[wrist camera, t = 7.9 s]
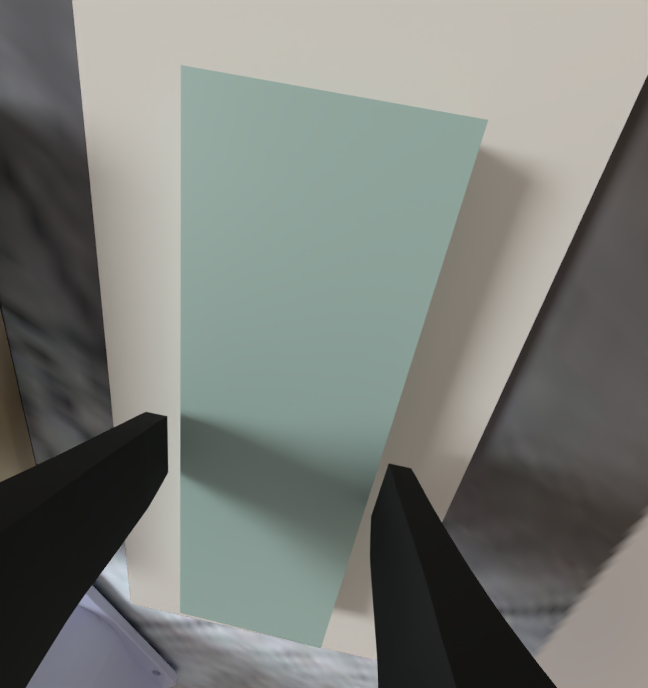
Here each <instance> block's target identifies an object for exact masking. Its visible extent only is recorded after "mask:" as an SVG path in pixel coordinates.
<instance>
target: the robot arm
mask: <svg viewBox="0 0 648 688" xmlns="http://www.w3.org/2000/svg"><path fill="white" fill-rule="evenodd" d="M167 474H168V423H167V416H164V415H159V414H154V413H150V412H144V413H142V414H140V415H138V416H136V417H134V418H132V419H130V420H128V421H126V422H124V423H122V424H120V425H118V426H116V427H114V428H112V429H110V430H108V431H106V432H104V433H102V434H100V435H98V436H96V437H94V438H92V439H90V440H88V441H86V442H84V443H82V444H80V445H78V446H76V447H74V448H72V449H70V450H68V451H66V452H64V453H62V454H60V455H58V456H56V457H53V458H51V459H49V460H47V461H45V462H43V463H40V464H38V465H36V466H34V467H32V468H29V469H27V470H25V471H23V472H21V473H19V474H16V475H14V476H12V477H10V478H8V479H6V480H3V481H1V482H0V688H169V687H173V686H175V684H176V682H177V679H178V674H177V673H176V671H175V670H174V669H173V668H172V667H171V666H170V665H169V664H168V663H167V662H166V661H165V660H164V659H163V658H162V657H161V656H160V655H159V654H158V653H157V652H156V651H155V650H154V649H153V648H152V647H151V645H150V644H149V643H148V642H147V641H146V640H145V639H144V638H143V637H142V636H141V635H140V634H139V633H138V632H137V631H136V630H135V629H134V628H133V627H132V626H131V625H130V624H129V623H128V622H127V621H126V619H125V618H124V617H123V616H122V615H121V614H120V613H119V612H118V611H117V610H116V609H115V608H114V607H113V606H112V605H111V604H110V603H109V602H108V601H107V600H106V599H105V598H104V597H103V596H102V595H101V594H100V592H99V591H98V590H97V589H96V588H95V587H94V586H93V583H94V582H95V580H96V579H97V578H98V576H99V575H100V574H101V572H102V571H103V570H104V568H105V567H106V565H107V564H108V563H109V561H110V560H111V559H112V557H113V556H114V555H115V553H116V552H117V550H118V549H119V548H120V546H121V545H122V544H123V542H124V541H125V540H126V538H127V537H128V535H129V534H130V533H131V531H132V530H133V528H134V527H135V526H136V524H137V523H138V522H139V520H140V519H141V517H142V516H143V515H144V513H145V512H146V510H147V509H148V507H149V506H150V504H151V502H152V501H153V499H154V497H155V495H156V494H157V492H158V490H159V488H160V487H161V485H162V483H163V481H164V479H165V478H166V476H167ZM370 569H371V583H372V597H373V610H374V624H375V637H376V651H377V664H378V688H557V687H556V686H555V685H554V683H553V682H552V681H551V680H550V678H549V677H548V676H547V674H546V673H545V672H544V671H543V669H542V668H541V667H540V666H539V664H538V663H537V662H536V660H535V659H534V658H533V657H532V655H531V654H530V653H529V651H528V650H527V649H526V647H525V646H524V645H523V643H522V642H521V641H520V639H519V638H518V637H517V635H516V634H515V633H514V631H513V630H512V629H511V627H510V626H509V625H508V623H507V622H506V620H505V619H504V618H503V616H502V615H501V613H500V612H499V611H498V609H497V608H496V606H495V605H494V603H493V602H492V601H491V599H490V598H489V596H488V595H487V593H486V592H485V590H484V589H483V587H482V586H481V584H480V583H479V581H478V580H477V578H476V577H475V575H474V574H473V572H472V571H471V569H470V568H469V566H468V564H467V563H466V561H465V560H464V558H463V557H462V555H461V553H460V552H459V550H458V549H457V547H456V545H455V544H454V542H453V540H452V539H451V537H450V535H449V534H448V532H447V530H446V529H445V527H444V525H443V524H442V522H441V520H440V519H439V517H438V515H437V513H436V512H435V510H434V508H433V506H432V505H431V503H430V501H429V499H428V497H427V496H426V494H425V492H424V490H423V488H422V487H421V485H420V483H419V481H418V479H417V477H416V476H415V474H414V472H413V471H412V469H411V468H408V467H403V466H398V465H394V464H388V467H387V470H386V473H385V476H384V479H383V482H382V485H381V488H380V491H379V494H378V497H377V500H376V503H375V506H374V509H373V512H372V515H371V530H370Z"/></svg>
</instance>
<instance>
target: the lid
mask: <svg viewBox="0 0 648 688" xmlns="http://www.w3.org/2000/svg"><path fill="white" fill-rule="evenodd" d="M487 122H488V120H486V119H480V118H475V117H469V116H464V115H458V114H452V113H447V112H441V111H436V110H430V109H424V108H419V107H413V106H408V105H402V104H396V103H391V102H385V101H380V100H374V99H368V98H363V97H357V96H352V95H346V94H340V93H335V92H329V91H324V90H318V89H312V88H307V87H301V86H296V85H290V84H284V83H279V82H273V81H268V80H262V79H256V78H251V77H245V76H240V75H234V74H228V73H223V72H217V71H212V70H206V69H200V68H195V67H189V66H184V65H181V337H180V613H183V614H187V615H191V616H195V617H199V618H203V619H207V620H211V621H215V622H219V623H223V624H227V625H231V626H235V627H239V628H243V629H247V630H251V631H255V632H259V633H263V634H267V635H271V636H275V637H279V638H283V639H287V640H291V641H295V642H299V643H303V644H307V645H311V646H315V647H319V648H321V646H322V643H323V640H324V637H325V634H326V630H327V627H328V624H329V621H330V618H331V615H332V611H333V608H334V605H335V602H336V599H337V596H338V593H339V589H340V586H341V583H342V580H343V577H344V574H345V570H346V567H347V564H348V561H349V558H350V555H351V552H352V548H353V545H354V542H355V539H356V536H357V533H358V529H359V526H360V523H361V520H362V517H363V514H364V510H365V507H366V504H367V501H368V498H369V495H370V492H371V488H372V485H373V482H374V479H375V476H376V473H377V469H378V466H379V463H380V460H381V457H382V454H383V451H384V447H385V444H386V441H387V438H388V435H389V432H390V428H391V425H392V422H393V419H394V416H395V413H396V410H397V406H398V403H399V400H400V397H401V394H402V391H403V387H404V384H405V381H406V378H407V375H408V372H409V369H410V365H411V362H412V359H413V356H414V353H415V350H416V346H417V343H418V340H419V337H420V334H421V331H422V328H423V324H424V321H425V318H426V315H427V312H428V309H429V305H430V302H431V299H432V296H433V293H434V290H435V287H436V283H437V280H438V277H439V274H440V271H441V268H442V264H443V261H444V258H445V255H446V252H447V249H448V246H449V242H450V239H451V236H452V233H453V230H454V227H455V223H456V220H457V217H458V214H459V211H460V208H461V204H462V201H463V198H464V195H465V192H466V189H467V186H468V182H469V179H470V176H471V173H472V170H473V167H474V163H475V160H476V157H477V154H478V151H479V148H480V145H481V141H482V138H483V135H484V132H485V129H486V126H487Z"/></svg>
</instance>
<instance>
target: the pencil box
mask: <svg viewBox="0 0 648 688" xmlns="http://www.w3.org/2000/svg"><path fill="white" fill-rule="evenodd" d="M34 466H36V464H35V460H34V455H33V451H32V447H31V442H30V438H29V433H28V429H27V424H26V420H25V416H24V411H23V407H22V402H21V398H20V394H19V389H18V385H17V380H16V376H15V371H14V367H13V363H12V358H11V354H10V349H9V345H8V340H7V336H6V332H5V327H4V323H3V318H2V314H1V310H0V482H1V481H3V480H6V479H8V478H10V477H12V476H14V475H16V474H19V473H21V472H23V471H25V470H27V469H29V468H32V467H34Z"/></svg>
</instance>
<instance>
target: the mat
mask: <svg viewBox="0 0 648 688" xmlns="http://www.w3.org/2000/svg"><path fill="white" fill-rule="evenodd" d="M72 2H73V12H74V23H75V33H76V43H77V54H78V64H79V74H80V85H81V95H82V105H83V115H84V126H85V136H86V146H87V157H88V167H89V177H90V188H91V198H92V208H93V219H94V229H95V239H96V250H97V260H98V270H99V281H100V291H101V301H102V312H103V322H104V332H105V343H106V353H107V363H108V374H109V384H110V394H111V405H112V415H113V425H114V427H116V426H118V425H120V424H122V423H124V422H126V421H128V420H130V419H132V418H134V417H136V416H138V415H140V414H142V413H144V412H150V413H154V414H159V415H164V416H167V423H168V474H167V476H166V478H165V479H164V481H163V483H162V485H161V487H160V488H159V490H158V492H157V494H156V495H155V497H154V499H153V501H152V502H151V504H150V506H149V507H148V509H147V510H146V512H145V513H144V515H143V516H142V517H141V519H140V520H139V522H138V523H137V524H136V526H135V527H134V528H133V530H132V531H131V533H130V534H129V535H128V537H127V538H126V540H125V549H126V559H127V570H128V580H129V590H130V601H131V604H134V605H138V606H143V607H147V608H151V609H156V610H160V611H165V612H169V613H173V614H178V615H182V616H186V617H191V618H195V619H199V620H204V621H208V622H213V623H217V624H221V625H226V626H230V627H234V628H239V627H235V626H231V625H227V624H223V623H219V622H215V621H211V620H207V619H203V618H199V617H195V616H191V615H187V614H183V613H180V337H181V65H184V66H189V67H195V68H200V69H206V70H212V71H217V72H223V73H228V74H234V75H240V76H245V77H251V78H256V79H262V80H268V81H273V82H279V83H284V84H290V85H296V86H301V87H307V88H312V89H318V90H324V91H329V92H335V93H340V94H346V95H352V96H357V97H363V98H368V99H374V100H380V101H385V102H391V103H396V104H402V105H408V106H413V107H419V108H424V109H430V110H436V111H441V112H447V113H452V114H458V115H464V116H469V117H475V118H480V119H486V120H488V122H487V126H486V129H485V132H484V135H483V138H482V141H481V145H480V148H479V151H478V154H477V157H476V160H475V163H474V167H473V170H472V173H471V176H470V179H469V182H468V186H467V189H466V192H465V195H464V198H463V201H462V204H461V208H460V211H459V214H458V217H457V220H456V223H455V227H454V230H453V233H452V236H451V239H450V242H449V246H448V249H447V252H446V255H445V258H444V261H443V264H442V268H441V271H440V274H439V277H438V280H437V283H436V287H435V290H434V293H433V296H432V299H431V302H430V305H429V309H428V312H427V315H426V318H425V321H424V324H423V328H422V331H421V334H420V337H419V340H418V343H417V346H416V350H415V353H414V356H413V359H412V362H411V365H410V369H409V372H408V375H407V378H406V381H405V384H404V387H403V391H402V394H401V397H400V400H399V403H398V406H397V410H396V413H395V416H394V419H393V422H392V425H391V428H390V432H389V435H388V438H387V441H386V444H385V447H384V451H383V454H382V457H381V460H380V463H379V466H378V469H377V473H376V476H375V479H374V482H373V485H372V488H371V492H370V495H369V498H368V501H367V504H366V507H365V510H364V514H363V517H362V520H361V523H360V526H359V529H358V533H357V536H356V539H355V542H354V545H353V548H352V552H351V555H350V558H349V561H348V564H347V567H346V570H345V574H344V577H343V580H342V583H341V586H340V589H339V593H338V596H337V599H336V602H335V605H334V608H333V611H332V615H331V618H330V621H329V624H328V627H327V630H326V634H325V637H324V640H323V643H322V646H321V647H322V648H326V649H330V650H335V651H339V652H344V653H348V654H352V655H357V656H361V657H365V658H370V659H374V660H377V651H376V637H375V624H374V610H373V597H372V583H371V569H370V530H371V515H372V512H373V509H374V506H375V503H376V500H377V497H378V494H379V491H380V488H381V485H382V482H383V479H384V476H385V473H386V470H387V467H388V464H394V465H398V466H403V467H408V468H411V469H412V471H413V472H414V474H415V476H416V477H417V479H418V481H419V483H420V485H421V487H422V488H423V490H424V492H425V494H426V496H427V497H428V499H429V501H430V503H431V505H432V506H433V508H434V510H435V512H436V513H437V515H438V517H439V519H440V520H441V522H443V519H444V517H445V515H446V513H447V511H448V508H449V506H450V504H451V502H452V500H453V498H454V495H455V493H456V491H457V489H458V487H459V485H460V482H461V480H462V478H463V476H464V474H465V471H466V469H467V467H468V465H469V463H470V461H471V458H472V456H473V454H474V452H475V450H476V447H477V445H478V443H479V441H480V439H481V437H482V434H483V432H484V430H485V428H486V426H487V424H488V421H489V419H490V417H491V415H492V413H493V410H494V408H495V406H496V404H497V402H498V400H499V397H500V395H501V393H502V391H503V389H504V386H505V384H506V382H507V380H508V378H509V376H510V373H511V371H512V369H513V367H514V365H515V363H516V360H517V358H518V356H519V354H520V352H521V349H522V347H523V345H524V343H525V341H526V339H527V336H528V334H529V332H530V330H531V328H532V325H533V323H534V321H535V319H536V317H537V315H538V312H539V310H540V308H541V306H542V304H543V302H544V299H545V297H546V295H547V293H548V291H549V288H550V286H551V284H552V282H553V280H554V278H555V275H556V273H557V271H558V269H559V267H560V264H561V262H562V260H563V258H564V256H565V254H566V251H567V249H568V247H569V245H570V243H571V241H572V238H573V236H574V234H575V232H576V230H577V227H578V225H579V223H580V221H581V219H582V217H583V214H584V212H585V210H586V208H587V206H588V203H589V201H590V199H591V197H592V195H593V193H594V190H595V188H596V186H597V184H598V182H599V180H600V177H601V175H602V173H603V171H604V169H605V166H606V164H607V162H608V160H609V158H610V156H611V153H612V151H613V149H614V147H615V145H616V142H617V140H618V138H619V136H620V134H621V132H622V129H623V127H624V125H625V123H626V121H627V119H628V116H629V114H630V112H631V110H632V108H633V105H634V103H635V101H636V99H637V97H638V95H639V92H640V90H641V88H642V86H643V84H644V81H645V79H646V77H647V75H648V0H72ZM239 629H243V628H239ZM243 630H247V629H243ZM247 631H251V630H247ZM252 632H255V631H252ZM256 633H259V632H256ZM261 634H263V633H261ZM265 635H267V634H265ZM269 636H271V635H269ZM274 637H275V636H274ZM278 638H279V637H278ZM282 639H283V638H282Z"/></svg>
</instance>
